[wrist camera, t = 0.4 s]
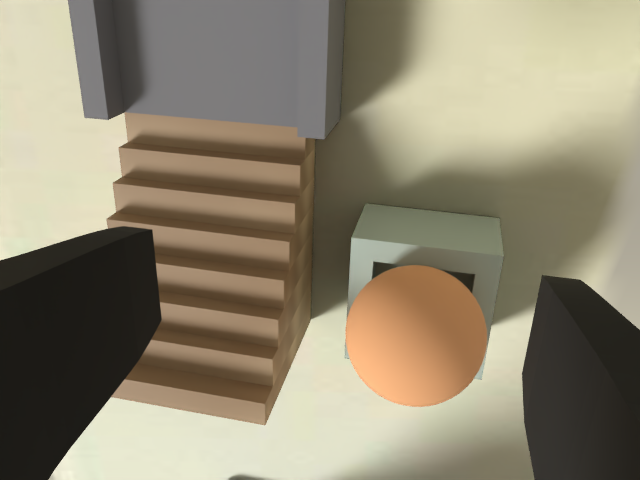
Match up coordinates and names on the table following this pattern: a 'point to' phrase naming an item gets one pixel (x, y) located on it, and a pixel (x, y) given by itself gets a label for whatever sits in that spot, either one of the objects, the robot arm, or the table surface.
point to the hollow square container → (428, 250)
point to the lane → (213, 60)
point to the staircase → (220, 259)
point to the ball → (416, 335)
